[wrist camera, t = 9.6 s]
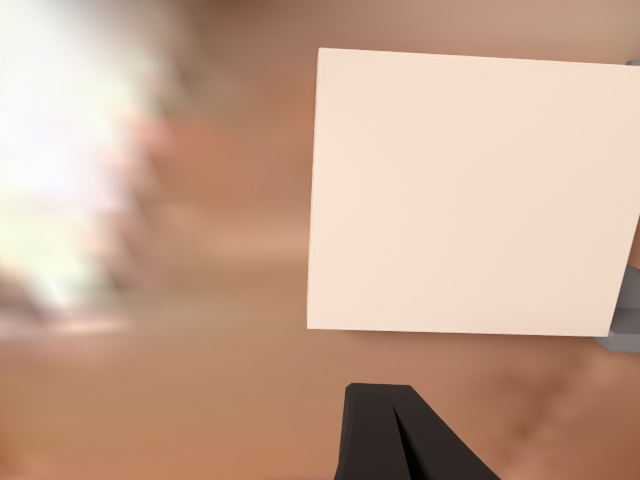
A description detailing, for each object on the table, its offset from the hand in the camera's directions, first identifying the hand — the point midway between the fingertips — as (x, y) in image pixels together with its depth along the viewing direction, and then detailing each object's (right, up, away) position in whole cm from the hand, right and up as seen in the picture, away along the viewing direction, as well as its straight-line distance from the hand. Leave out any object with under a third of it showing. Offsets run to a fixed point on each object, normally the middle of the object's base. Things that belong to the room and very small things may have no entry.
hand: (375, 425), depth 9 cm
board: (+4, +6, +9) cm, 11 cm away
